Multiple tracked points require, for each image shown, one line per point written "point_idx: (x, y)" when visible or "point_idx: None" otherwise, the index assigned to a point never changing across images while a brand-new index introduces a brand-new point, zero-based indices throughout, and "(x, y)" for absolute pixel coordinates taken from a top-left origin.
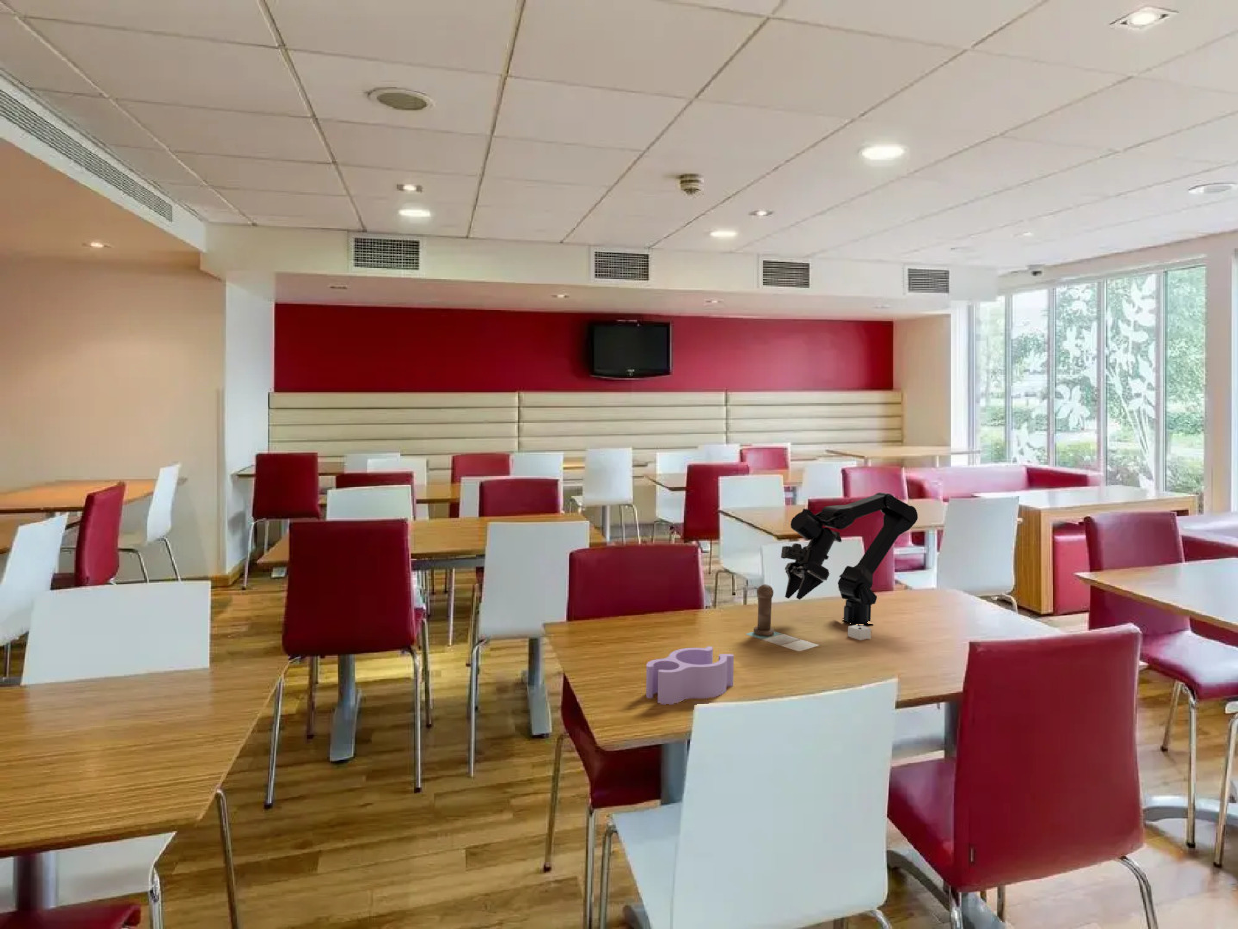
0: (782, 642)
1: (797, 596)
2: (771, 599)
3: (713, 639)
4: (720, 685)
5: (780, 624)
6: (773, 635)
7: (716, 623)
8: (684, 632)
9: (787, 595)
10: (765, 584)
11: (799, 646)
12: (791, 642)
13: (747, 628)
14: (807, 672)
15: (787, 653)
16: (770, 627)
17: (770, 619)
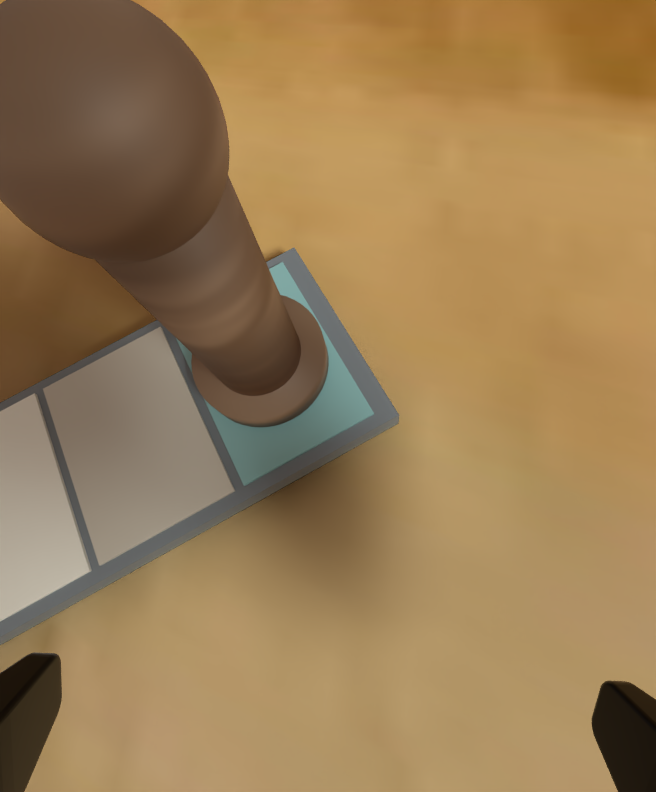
0: (77, 420)
1: (11, 670)
2: (101, 263)
3: (311, 139)
4: None
5: (608, 623)
6: (216, 413)
7: (616, 194)
8: (440, 41)
9: (622, 726)
10: (31, 11)
11: None
12: (58, 476)
13: (500, 343)
14: None
15: None
16: (227, 385)
17: (195, 356)
